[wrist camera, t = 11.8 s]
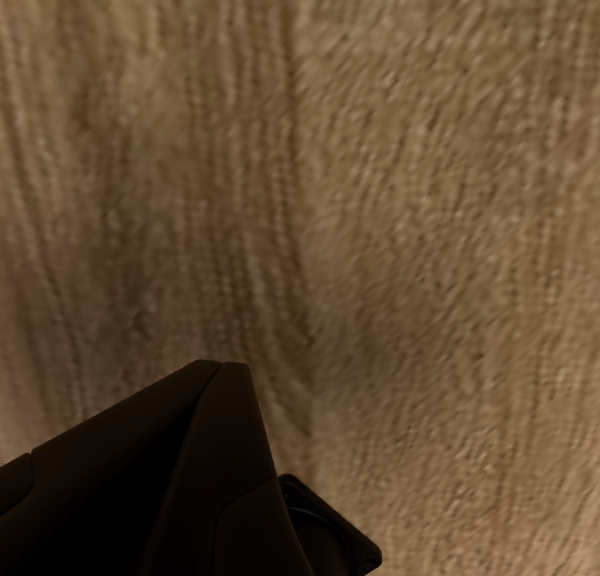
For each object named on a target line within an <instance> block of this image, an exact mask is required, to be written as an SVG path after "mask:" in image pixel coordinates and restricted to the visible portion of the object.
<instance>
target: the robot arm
mask: <svg viewBox="0 0 600 576" xmlns="http://www.w3.org/2000/svg"><path fill="white" fill-rule="evenodd" d="M285 486H289V487H291V489H287V488H285ZM370 557H373V558H370ZM381 563H382V553H381V551H380V549H379V548H377V547H376V546H375V545H374V544H373V543H372V542H370V541H369V540H368V539H367V538H366V537H364V536H363V535H362V534H361V533H360V532H358V531H357V530H356V529H355V528H354V527H353V526H351V525H350V524H349V523H348V522H347V521H345V520H344V519H343V518H342V517H341V516H339V515H338V514H337V513H336V512H335V511H334V510H332V509H331V508H330V507H329V506H328V505H326V504H325V503H324V502H323V501H322V500H320V499H319V498H318V497H317V496H316V495H315V494H313V493H312V492H311V491H310V490H309V489H307V488H306V487H305V486H304V485H303V484H301V483H300V482H299V481H298V480H297V479H295V478H294V477H291V476H283V477H281V478H280V479H278V477H277V473H276V469H275V465H274V462H273V458H272V454H271V450H270V446H269V442H268V439H267V435H266V431H265V427H264V423H263V420H262V416H261V412H260V408H259V404H258V400H257V397H256V393H255V389H254V385H253V381H252V378H251V374H250V370H249V366H248V365H247V364H246V363H237V362H224V363H223V364H222V363H221V362H219V361H213V360H202V359H200V360H196V361H194V362H192V363H190V364H188V365H186V366H185V367H183V368H181V369H179V370H177V371H175V372H174V373H172V374H170V375H168V376H166V377H165V378H163V379H161V380H159V381H157V382H155V383H154V384H152V385H150V386H148V387H146V388H144V389H143V390H141V391H139V392H137V393H135V394H133V395H132V396H130V397H128V398H126V399H124V400H122V401H121V402H119V403H117V404H115V405H113V406H111V407H110V408H108V409H106V410H104V411H102V412H100V413H99V414H97V415H95V416H93V417H91V418H89V419H88V420H86V421H84V422H82V423H80V424H78V425H77V426H75V427H73V428H71V429H69V430H67V431H66V432H64V433H62V434H60V435H58V436H56V437H55V438H53V439H51V440H49V441H47V442H45V443H44V444H42V445H40V446H38V447H36V448H34V449H33V450H32V451H31V455H30V453H25V454H23V455H21V456H20V457H18V458H16V459H14V460H12V461H10V462H9V463H7V464H5V465H3V466H1V467H0V576H365V575H367V574H368V573H370V572H371V571H373V570H374V569H376V568H378V567H379V566H380V565H381Z"/></svg>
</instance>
